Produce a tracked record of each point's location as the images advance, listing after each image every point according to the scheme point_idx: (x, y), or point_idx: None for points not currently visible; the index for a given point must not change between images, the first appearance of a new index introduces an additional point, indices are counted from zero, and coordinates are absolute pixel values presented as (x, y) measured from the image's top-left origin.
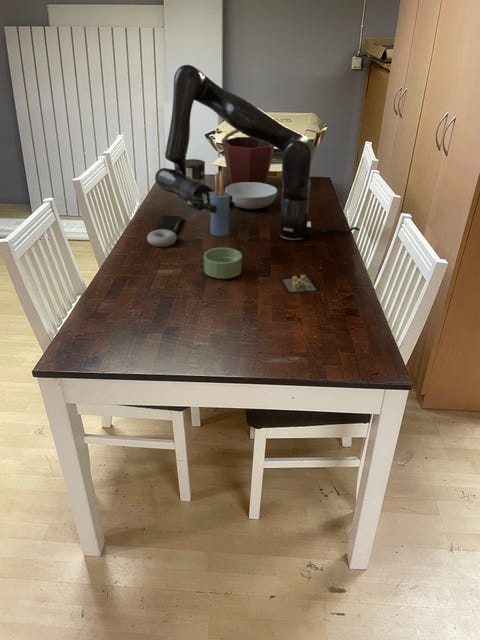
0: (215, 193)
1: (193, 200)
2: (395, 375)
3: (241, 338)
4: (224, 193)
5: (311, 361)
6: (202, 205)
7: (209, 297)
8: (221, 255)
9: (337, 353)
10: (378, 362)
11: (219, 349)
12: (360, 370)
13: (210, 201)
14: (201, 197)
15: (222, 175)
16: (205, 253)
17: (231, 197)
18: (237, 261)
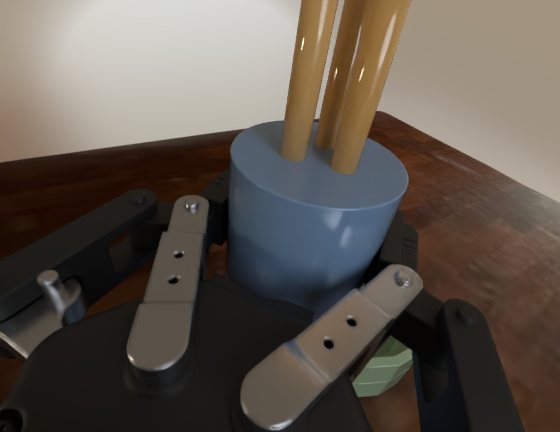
0: (360, 158)
1: (505, 412)
2: (378, 113)
3: (480, 202)
4: (274, 142)
5: (429, 149)
6: (434, 303)
7: (464, 290)
8: None
9: (394, 138)
10: (373, 120)
11: (526, 212)
12: (398, 126)
13: (386, 233)
14: (331, 408)
15: None
16: (401, 357)
17: (151, 194)
18: None
